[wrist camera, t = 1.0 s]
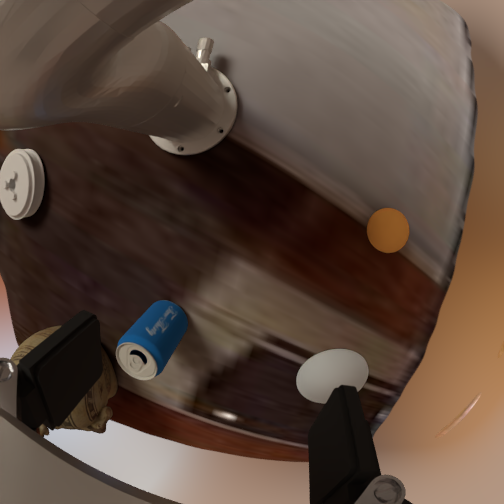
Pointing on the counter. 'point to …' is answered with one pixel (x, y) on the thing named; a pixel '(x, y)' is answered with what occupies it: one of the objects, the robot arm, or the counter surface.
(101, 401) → the ceramic vessel
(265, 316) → the counter surface
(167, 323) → the beverage can
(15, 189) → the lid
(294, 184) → the counter surface
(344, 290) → the counter surface
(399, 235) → the ball
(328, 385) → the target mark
